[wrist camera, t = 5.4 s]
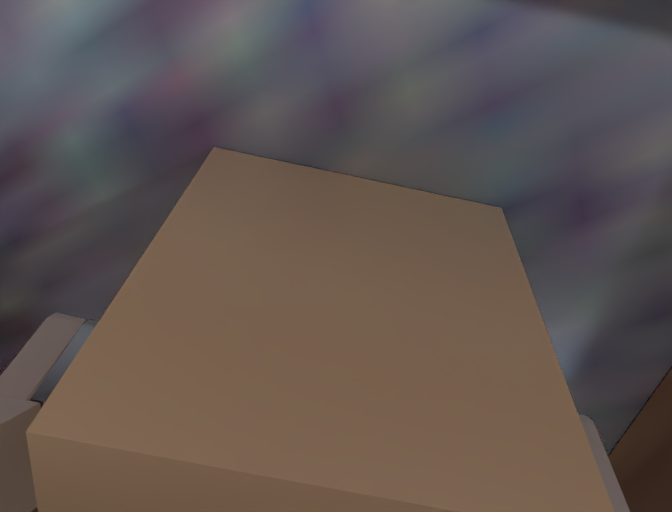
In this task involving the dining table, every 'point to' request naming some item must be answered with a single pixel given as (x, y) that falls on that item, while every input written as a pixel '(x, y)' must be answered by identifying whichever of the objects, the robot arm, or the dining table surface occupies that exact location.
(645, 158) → the dining table surface
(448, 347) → the tan block
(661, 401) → the frame
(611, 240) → the dining table surface
